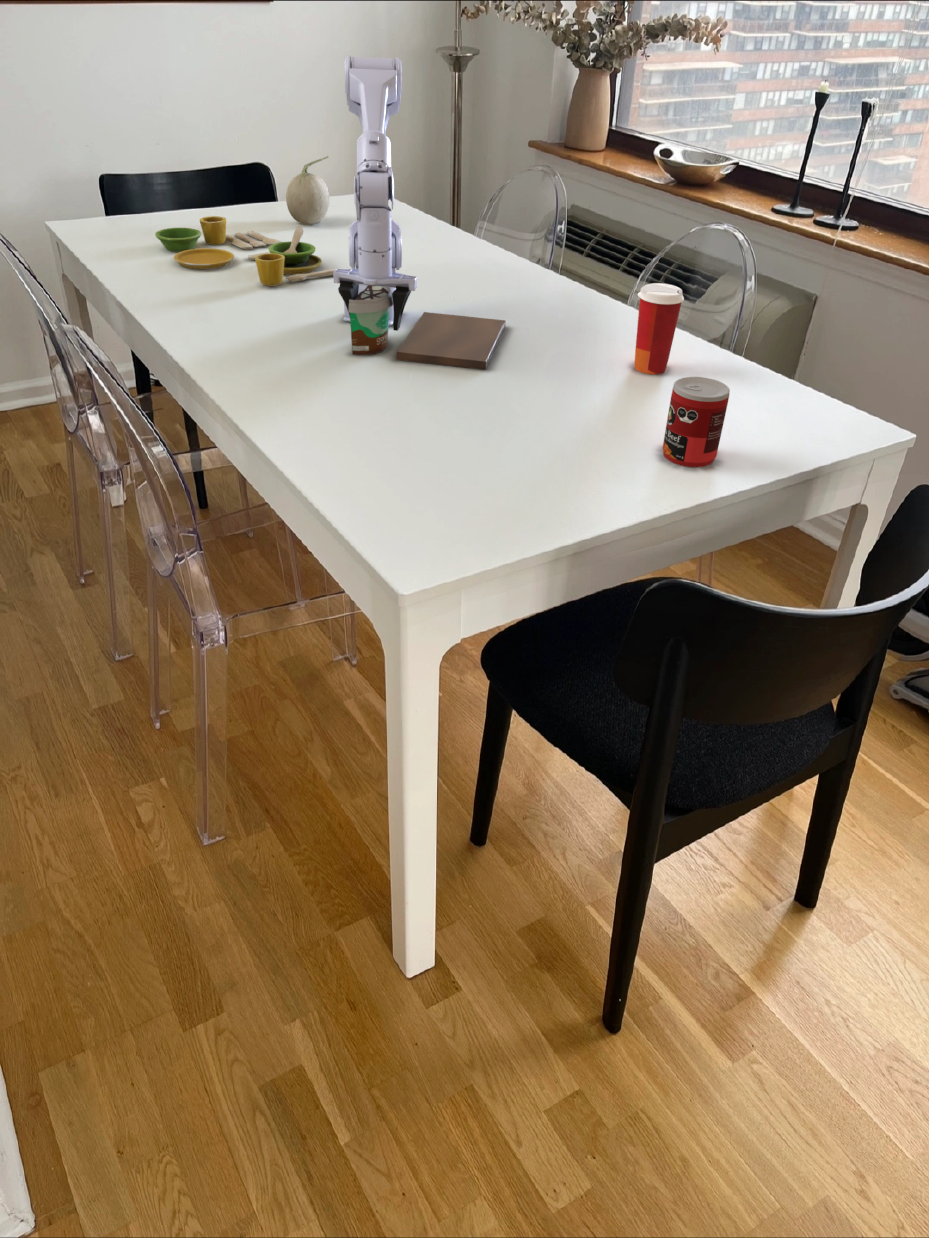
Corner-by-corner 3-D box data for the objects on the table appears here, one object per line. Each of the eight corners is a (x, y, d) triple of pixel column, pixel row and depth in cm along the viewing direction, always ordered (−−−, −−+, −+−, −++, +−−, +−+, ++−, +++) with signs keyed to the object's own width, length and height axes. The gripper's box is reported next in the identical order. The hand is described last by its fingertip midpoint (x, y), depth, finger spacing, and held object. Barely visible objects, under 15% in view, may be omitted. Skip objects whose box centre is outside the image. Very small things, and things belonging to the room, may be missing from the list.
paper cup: (674, 364, 176) (688, 286, 168) (667, 379, 170) (681, 299, 162) (632, 357, 178) (643, 279, 170) (623, 372, 172) (634, 292, 164)
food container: (383, 361, 172) (383, 304, 166) (349, 357, 173) (348, 300, 167) (401, 337, 182) (401, 283, 176) (369, 334, 182) (368, 279, 177)
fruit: (281, 228, 240) (276, 161, 231) (295, 216, 249) (291, 152, 240) (322, 231, 238) (319, 165, 230) (335, 220, 248) (332, 155, 239)
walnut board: (396, 360, 172) (396, 351, 172) (424, 319, 190) (424, 312, 189) (485, 370, 170) (486, 361, 169) (505, 328, 188) (505, 320, 187)
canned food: (656, 445, 148) (667, 376, 142) (707, 445, 149) (721, 376, 143) (668, 468, 142) (681, 397, 136) (722, 468, 143) (737, 397, 137)
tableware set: (345, 276, 210) (345, 246, 206) (227, 297, 196) (224, 265, 192) (254, 231, 236) (252, 203, 232) (144, 247, 222) (139, 218, 218)
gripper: (326, 250, 165) (330, 329, 173) (410, 258, 163) (410, 338, 171) (339, 239, 170) (341, 317, 178) (420, 247, 168) (419, 325, 176)
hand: (375, 326), depth 175 cm, fingers open, 7 cm apart
